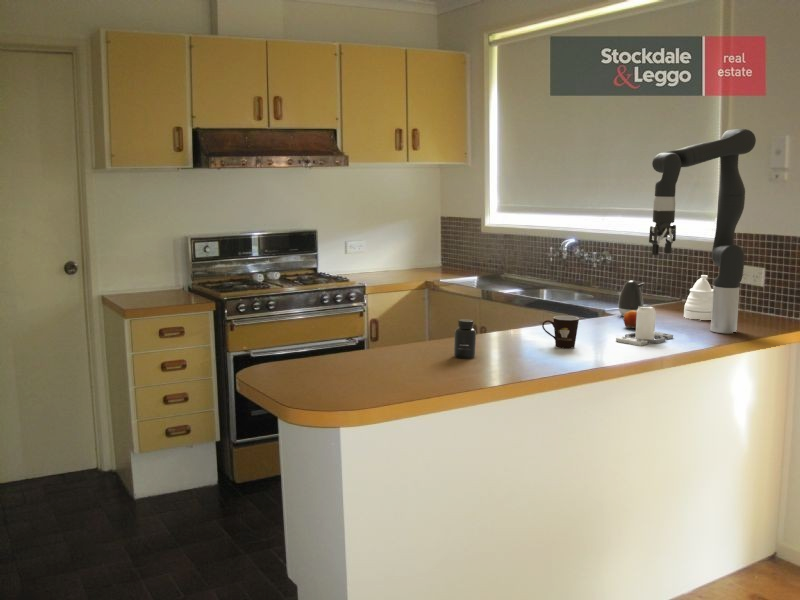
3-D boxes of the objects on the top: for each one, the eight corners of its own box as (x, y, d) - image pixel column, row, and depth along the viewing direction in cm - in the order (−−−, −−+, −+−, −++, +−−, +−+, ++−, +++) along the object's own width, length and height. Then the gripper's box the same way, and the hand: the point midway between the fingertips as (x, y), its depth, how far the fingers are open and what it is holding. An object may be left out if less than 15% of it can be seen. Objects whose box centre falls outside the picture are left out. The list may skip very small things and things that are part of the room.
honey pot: (721, 320, 343) (724, 276, 340) (689, 320, 343) (692, 276, 340) (710, 315, 355) (712, 273, 353) (679, 315, 356) (682, 272, 353)
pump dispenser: (641, 319, 345) (643, 282, 343) (615, 317, 349) (617, 280, 347) (645, 315, 354) (647, 279, 352) (620, 313, 358) (621, 278, 356)
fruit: (621, 326, 320) (623, 306, 323) (623, 333, 327) (625, 314, 330) (643, 327, 317) (645, 308, 320) (644, 335, 324) (646, 316, 327)
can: (655, 342, 298) (656, 308, 296) (636, 341, 299) (637, 308, 298) (653, 338, 304) (654, 305, 303) (634, 337, 306) (636, 305, 304)
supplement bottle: (461, 360, 267) (461, 322, 266) (450, 355, 273) (450, 319, 272) (479, 357, 271) (480, 321, 269) (468, 353, 276) (468, 317, 275)
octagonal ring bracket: (644, 333, 314) (645, 329, 314) (676, 338, 305) (677, 334, 305) (612, 340, 300) (612, 336, 300) (644, 346, 290) (645, 342, 290)
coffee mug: (582, 346, 289) (583, 318, 288) (569, 350, 283) (570, 321, 282) (553, 341, 297) (554, 313, 296) (540, 345, 291) (540, 316, 289)
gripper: (665, 208, 310) (662, 252, 313) (644, 209, 301) (641, 254, 303) (683, 209, 305) (681, 253, 307) (663, 210, 295) (660, 256, 298)
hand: (661, 254), depth 305 cm, fingers open, 8 cm apart
